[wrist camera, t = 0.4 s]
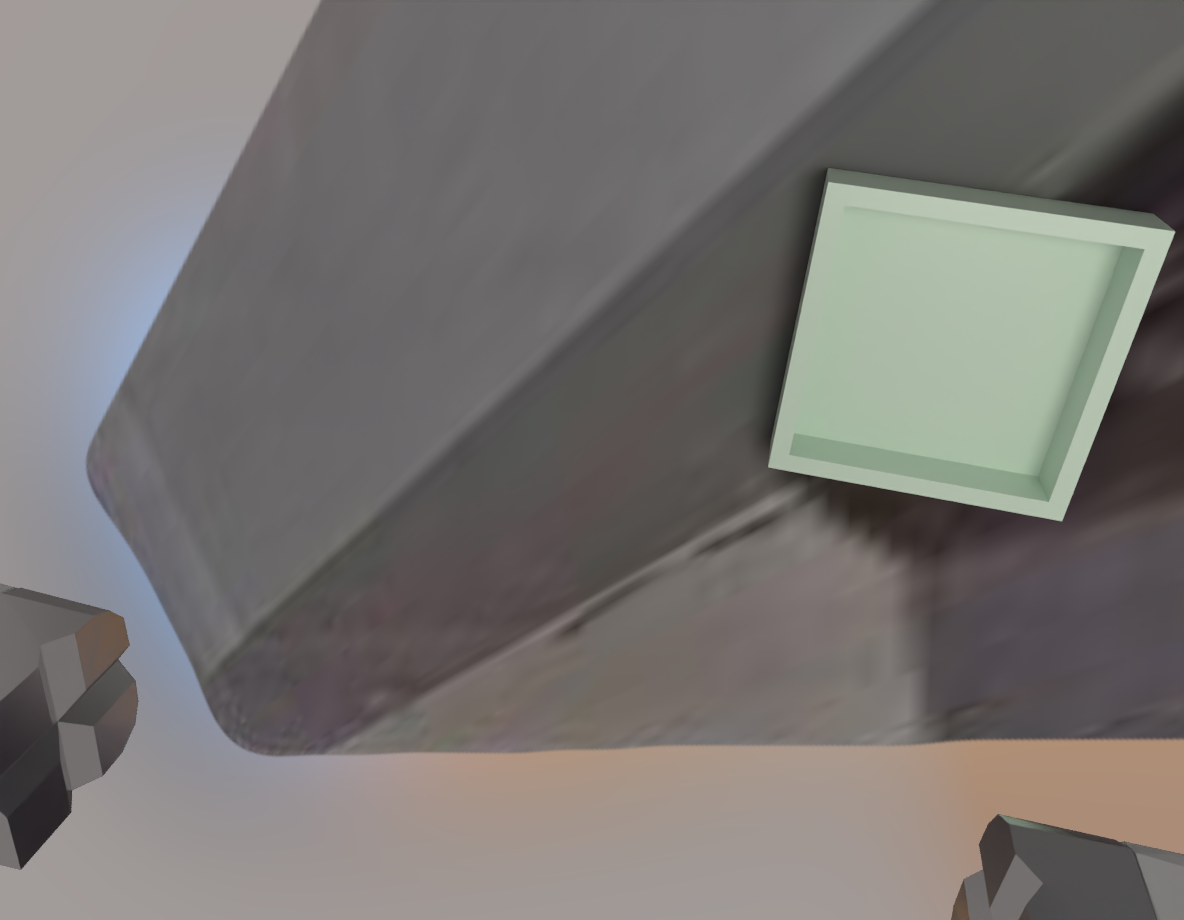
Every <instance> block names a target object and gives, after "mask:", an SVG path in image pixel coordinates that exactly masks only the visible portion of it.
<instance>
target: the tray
mask: <svg viewBox="0 0 1184 920" xmlns="http://www.w3.org/2000/svg"><path fill="white" fill-rule="evenodd" d="M1174 234H1175V231H1174V230H1173V229H1172V228H1170V227H1169V226H1168V225H1167V224H1165V223H1164V222H1163V221H1162V220H1160V219H1159V218H1158V217H1157V216H1156V215H1154V214H1153V213H1146V212H1138V211H1131V210H1124V209H1117V208H1110V207H1103V206H1096V205H1089V204H1082V203H1075V202H1067V201H1060V200H1053V199H1046V198H1039V197H1032V196H1025V195H1018V194H1011V193H1004V192H996V191H989V190H982V189H975V188H968V187H961V186H954V185H947V184H940V183H933V182H925V181H918V180H911V179H904V178H897V177H890V176H883V175H876V174H869V173H862V172H855V171H847V170H840V169H833V168H828V170H827V175H826V180H825V184H824V189H823V194H822V199H821V204H820V208H819V213H818V218H817V223H816V227H815V232H814V237H813V242H812V246H811V251H810V256H809V261H808V266H807V270H806V275H805V280H804V285H803V289H802V294H801V299H800V304H799V308H798V313H797V318H796V323H795V328H794V332H793V337H792V342H791V347H790V351H789V356H788V361H787V366H786V370H785V375H784V380H783V385H782V390H781V394H780V399H779V404H778V409H777V413H776V418H775V423H774V428H773V432H772V437H771V444H770V453H769V463H768V467H769V468H775V469H780V470H786V471H791V472H797V473H802V474H808V475H813V476H818V477H824V478H829V479H835V480H840V481H846V482H851V483H857V484H862V485H867V486H873V487H878V488H884V489H889V490H895V491H900V492H906V493H911V494H916V495H922V496H927V497H933V498H938V499H944V500H949V501H955V502H960V503H965V504H971V505H976V506H982V507H987V508H993V509H998V510H1004V511H1009V512H1014V513H1020V514H1025V515H1031V516H1036V517H1042V518H1047V519H1053V520H1058V521H1062V520H1063V517H1064V515H1065V512H1066V510H1067V507H1068V505H1069V502H1070V499H1071V497H1072V494H1073V492H1074V489H1075V487H1076V484H1077V482H1078V479H1079V476H1080V474H1081V471H1082V469H1083V466H1084V464H1085V461H1086V459H1087V456H1088V453H1089V451H1090V448H1091V446H1092V443H1093V441H1094V438H1095V436H1096V433H1097V430H1098V428H1099V425H1100V423H1101V420H1102V418H1103V415H1104V413H1105V410H1106V407H1107V405H1108V402H1109V400H1110V397H1111V395H1112V392H1113V390H1114V387H1115V384H1116V382H1117V379H1118V377H1119V374H1120V372H1121V369H1122V367H1123V364H1124V361H1125V359H1126V356H1127V354H1128V351H1129V349H1130V346H1131V344H1132V341H1133V338H1134V336H1135V333H1136V331H1137V328H1138V326H1139V323H1140V320H1141V318H1142V315H1143V313H1144V310H1145V308H1146V305H1147V303H1148V300H1149V297H1150V295H1151V292H1152V290H1153V287H1154V285H1155V282H1156V280H1157V277H1158V274H1159V272H1160V269H1161V267H1162V264H1163V262H1164V259H1165V257H1166V254H1167V251H1168V249H1169V246H1170V244H1171V241H1172V239H1173V236H1174Z"/></svg>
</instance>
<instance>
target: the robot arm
mask: <svg viewBox="0 0 1184 920" xmlns="http://www.w3.org/2000/svg"><path fill="white" fill-rule="evenodd" d="M129 645H130V644H129V640H128V635H127V630H126V626H125V622H124V618H123V617H121V616H119V615H117V614H115V613H113V612H111V611H109V610H105V609H101V608H98V607H93V606H90V605H86V604H82V603H78V602H74V601H70V600H67V599H63V598H59V597H55V596H51V595H47V594H43V593H39V592H35V591H31V590H28V589H23V588H15V587H12V586H8V585H4V584H0V865H3V866H7V867H11V868H15V869H20V870H21V869H22V868H23V867H24V866H25V865H26V863H27V862H28V861H29V860H30V859H31V858H32V856H33V855H34V854H35V853H36V852H37V851H38V850H39V848H40V847H41V846H42V845H43V844H44V843H45V842H46V840H47V839H48V838H49V837H50V836H51V835H52V834H53V833H54V831H55V830H56V829H57V828H58V827H59V826H60V825H61V823H62V822H63V821H64V820H65V819H66V818H67V817H68V815H69V814H70V813H71V805H72V790H74V789H76V788H78V787H80V786H82V785H84V784H86V783H89V782H91V781H93V780H95V779H97V778H99V777H102V776H103V775H104V774H105V773H106V771H107V770H108V769H109V768H110V767H111V765H112V764H113V763H114V762H115V761H116V759H117V758H118V757H119V756H120V755H121V753H122V752H123V750H124V747H125V745H126V743H127V741H128V739H129V736H130V734H131V732H132V730H133V728H134V726H135V722H136V714H137V707H138V695H137V688H136V681H135V680H134V678H133V677H132V676H131V675H130V673H129V672H128V671H127V670H126V669H125V667H124V666H123V665H122V664H121V662H120V661H119V660H118V659H119V658H120V656H121V655H122V654H123V653H124V652H125V650H126V649H127V648H128V646H129ZM979 847H980V853H981V859H982V865H983V870H981V871H979V872H977V873H975V874H973V875H971V876H969V877H967V878H965V879H964V880H963V883H962V885H961V888H960V891H959V893H958V896H957V898H956V901H955V904H954V906H953V913H952V919H951V920H1184V854H1180V853H1175V852H1170V851H1166V850H1161V849H1157V848H1152V847H1147V846H1143V845H1138V844H1133V843H1129V842H1118V841H1116V840H1114V839H1109V838H1105V837H1100V836H1095V835H1091V834H1086V833H1082V832H1077V831H1073V830H1068V829H1063V828H1059V827H1055V826H1050V825H1046V824H1041V823H1037V822H1032V821H1027V820H1023V819H1018V818H1013V817H1009V816H1005V815H1000V814H998V815H997V816H996V817H995V818H994V819H993V820H992V821H991V822H989V824H988V825H987V828H986V830H985V832H984V834H983V836H982V839H981V841H980V843H979Z"/></svg>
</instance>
